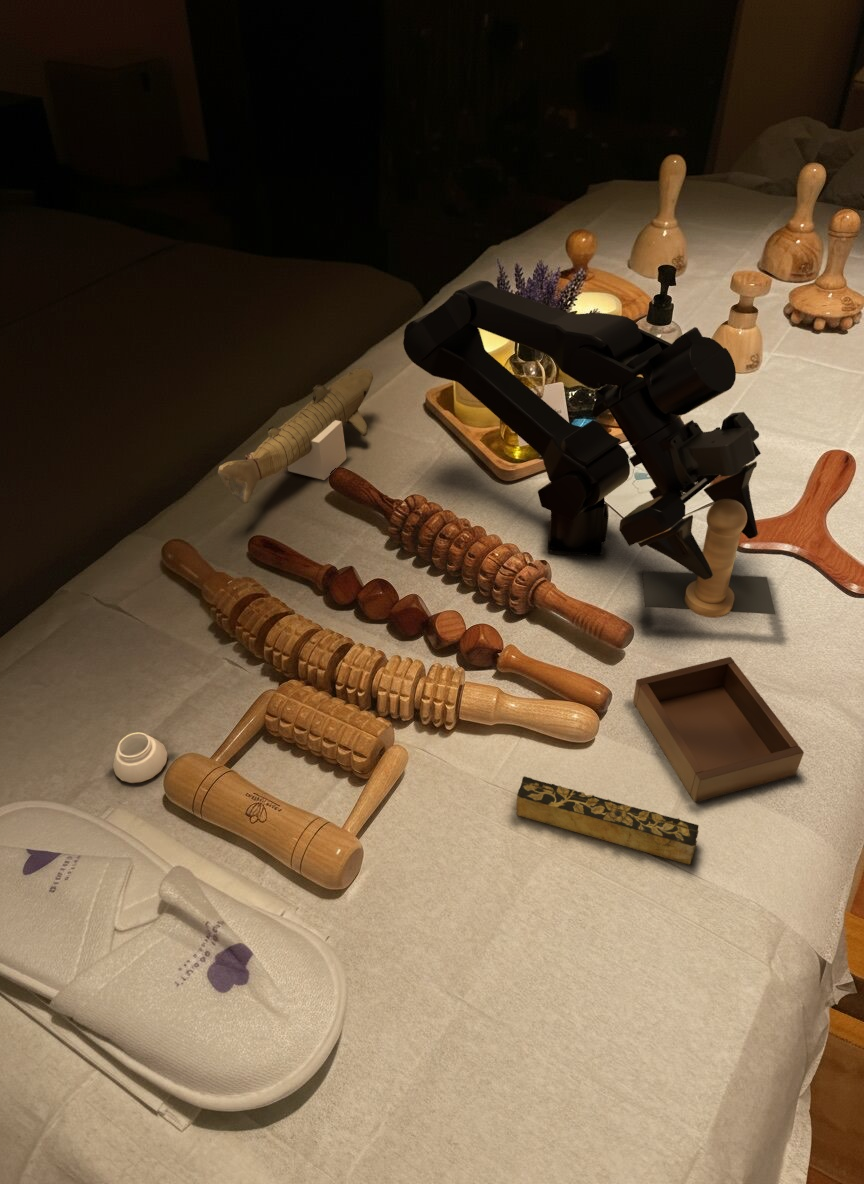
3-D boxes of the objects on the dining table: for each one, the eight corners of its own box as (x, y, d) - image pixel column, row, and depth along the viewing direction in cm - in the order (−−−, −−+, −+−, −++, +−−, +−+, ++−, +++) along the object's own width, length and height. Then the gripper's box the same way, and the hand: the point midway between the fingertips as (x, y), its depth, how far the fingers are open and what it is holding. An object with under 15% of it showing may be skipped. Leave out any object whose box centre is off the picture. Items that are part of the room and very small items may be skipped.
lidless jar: (147, 735, 87) (105, 767, 84) (140, 716, 85) (96, 748, 82) (178, 760, 84) (135, 794, 82) (171, 741, 83) (127, 774, 80)
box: (632, 705, 87) (636, 679, 85) (723, 682, 89) (730, 656, 87) (693, 806, 78) (700, 780, 76) (794, 778, 80) (804, 752, 77)
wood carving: (207, 534, 112) (187, 460, 105) (346, 409, 136) (337, 341, 128) (264, 551, 109) (247, 475, 102) (396, 420, 132) (391, 351, 125)
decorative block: (694, 846, 75) (700, 822, 73) (690, 870, 73) (696, 846, 71) (522, 797, 80) (523, 773, 77) (514, 818, 78) (515, 794, 76)
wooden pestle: (703, 623, 95) (724, 522, 86) (675, 594, 99) (693, 495, 90) (742, 609, 96) (767, 508, 88) (713, 581, 100) (735, 483, 91)
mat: (646, 632, 95) (647, 628, 95) (642, 573, 103) (643, 570, 102) (780, 640, 93) (781, 636, 93) (766, 580, 101) (766, 576, 100)
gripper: (659, 437, 79) (747, 581, 80) (761, 364, 89) (838, 494, 90) (583, 479, 89) (662, 607, 90) (682, 409, 98) (753, 525, 100)
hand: (732, 557), depth 92 cm, fingers open, 9 cm apart
